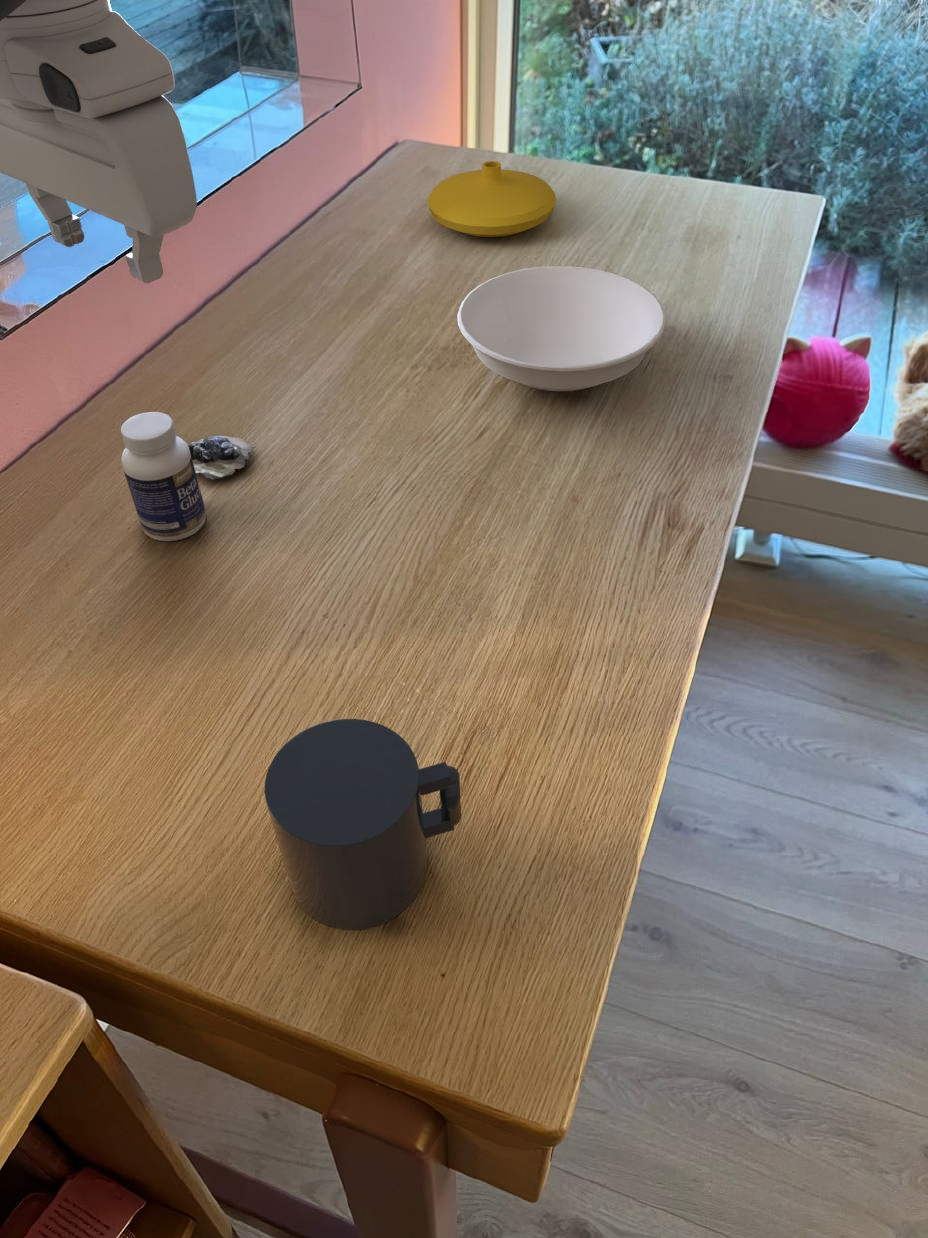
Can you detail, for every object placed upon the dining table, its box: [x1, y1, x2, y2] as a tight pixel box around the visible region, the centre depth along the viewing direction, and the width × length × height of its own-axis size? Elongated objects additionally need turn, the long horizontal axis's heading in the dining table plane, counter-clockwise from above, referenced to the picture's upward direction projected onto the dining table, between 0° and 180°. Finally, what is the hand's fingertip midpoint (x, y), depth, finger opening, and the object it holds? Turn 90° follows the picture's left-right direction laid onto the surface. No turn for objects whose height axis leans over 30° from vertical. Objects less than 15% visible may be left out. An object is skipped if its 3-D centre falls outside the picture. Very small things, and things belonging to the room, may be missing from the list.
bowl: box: [456, 265, 667, 392], centre depth 97 cm, size 20×20×6 cm
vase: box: [427, 160, 557, 238], centre depth 122 cm, size 16×16×7 cm
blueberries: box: [186, 435, 257, 481], centre depth 90 cm, size 7×8×2 cm
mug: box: [264, 718, 462, 931], centre depth 58 cm, size 11×8×9 cm
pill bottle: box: [120, 411, 207, 542], centre depth 81 cm, size 5×5×10 cm
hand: (108, 259), depth 73 cm, fingers open, 8 cm apart
